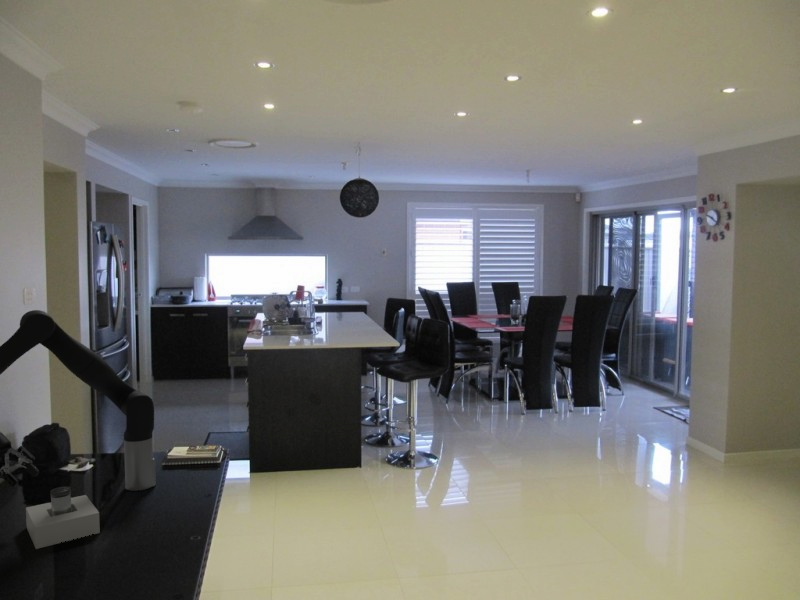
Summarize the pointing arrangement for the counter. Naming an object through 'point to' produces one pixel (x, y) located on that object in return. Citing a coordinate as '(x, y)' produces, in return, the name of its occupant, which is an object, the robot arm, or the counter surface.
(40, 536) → the grey block with recess
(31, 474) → the robot arm
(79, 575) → the counter surface
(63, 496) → the lens
